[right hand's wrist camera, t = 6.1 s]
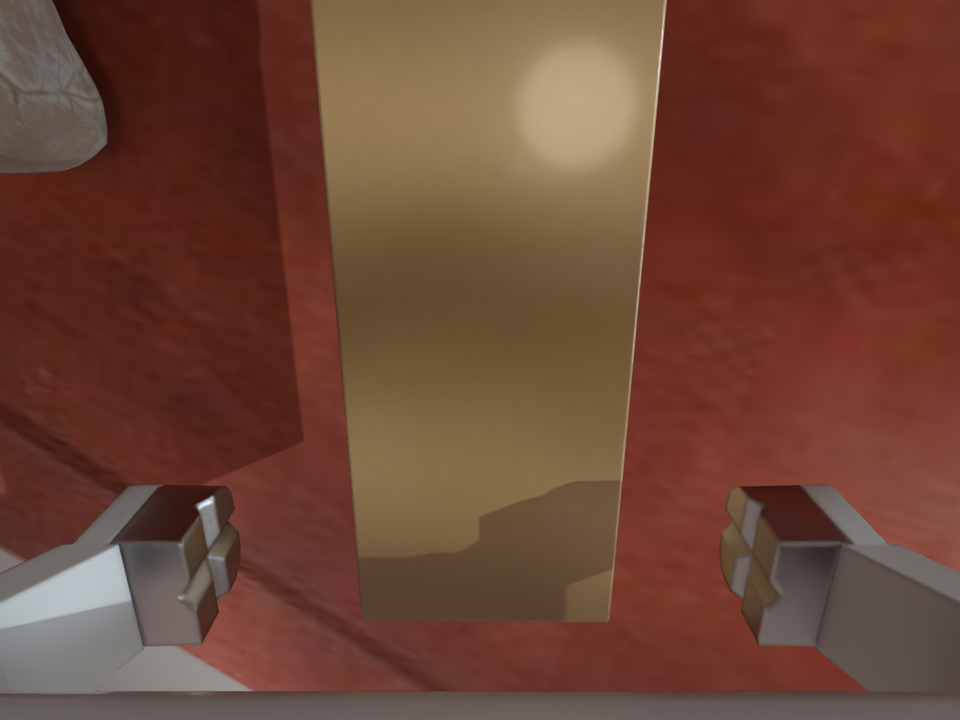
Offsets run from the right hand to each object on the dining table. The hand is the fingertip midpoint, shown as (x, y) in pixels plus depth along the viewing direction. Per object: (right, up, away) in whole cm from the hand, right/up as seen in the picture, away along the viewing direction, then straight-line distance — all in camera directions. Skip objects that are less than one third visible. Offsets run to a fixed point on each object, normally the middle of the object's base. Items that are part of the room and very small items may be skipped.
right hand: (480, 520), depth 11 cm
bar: (0, +11, +6) cm, 13 cm away
